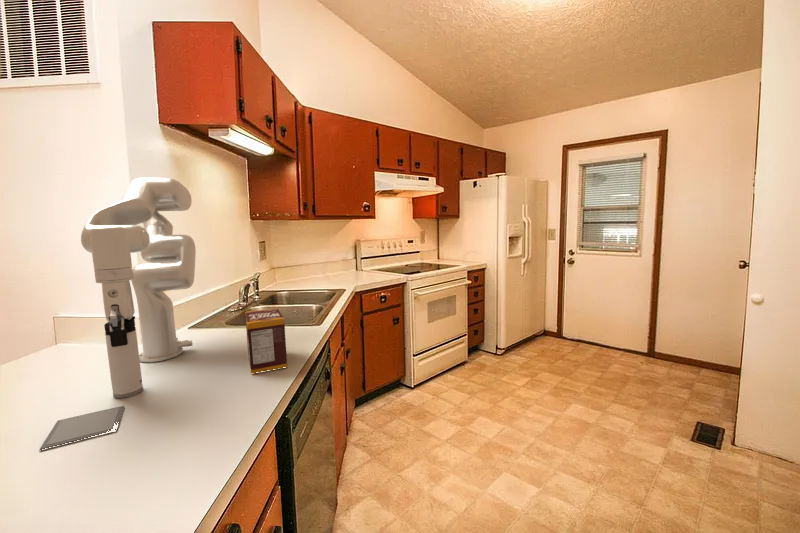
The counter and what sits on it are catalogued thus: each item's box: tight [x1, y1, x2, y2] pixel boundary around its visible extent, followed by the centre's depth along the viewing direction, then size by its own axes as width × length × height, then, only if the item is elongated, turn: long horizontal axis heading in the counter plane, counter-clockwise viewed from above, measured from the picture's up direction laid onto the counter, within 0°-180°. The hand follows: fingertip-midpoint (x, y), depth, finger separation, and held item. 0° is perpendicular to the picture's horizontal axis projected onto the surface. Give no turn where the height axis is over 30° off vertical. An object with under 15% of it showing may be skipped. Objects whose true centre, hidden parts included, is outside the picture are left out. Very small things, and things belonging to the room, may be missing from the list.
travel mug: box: [104, 315, 144, 399], centre depth 92 cm, size 6×7×20 cm
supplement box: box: [245, 308, 288, 374], centre depth 111 cm, size 10×15×16 cm
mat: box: [39, 405, 125, 451], centre depth 78 cm, size 12×12×1 cm
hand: (122, 340), depth 92 cm, fingers open, 9 cm apart
